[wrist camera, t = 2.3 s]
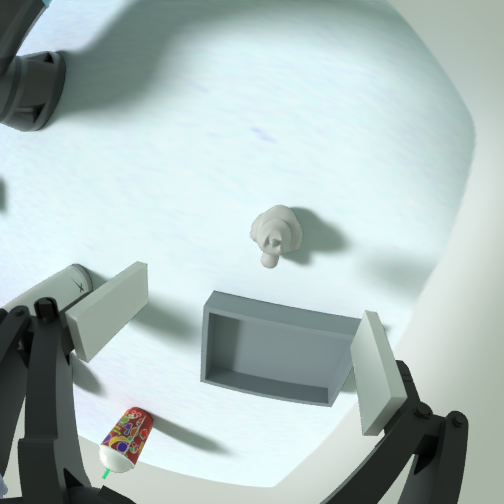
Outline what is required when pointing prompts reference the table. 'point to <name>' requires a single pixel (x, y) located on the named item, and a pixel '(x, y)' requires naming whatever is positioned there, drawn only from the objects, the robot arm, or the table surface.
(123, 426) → the smoothie
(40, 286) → the travel mug
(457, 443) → the robot arm
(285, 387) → the bin
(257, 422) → the table surface
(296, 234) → the white animal figurine
